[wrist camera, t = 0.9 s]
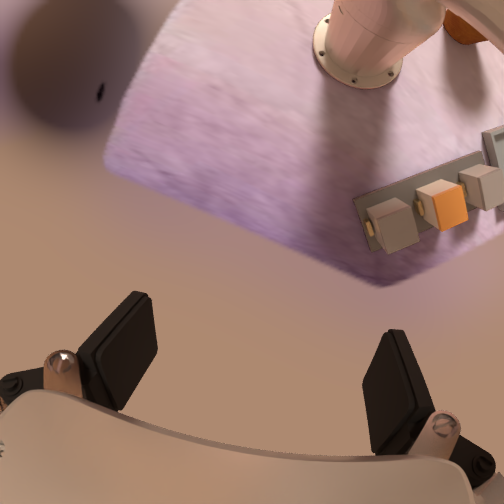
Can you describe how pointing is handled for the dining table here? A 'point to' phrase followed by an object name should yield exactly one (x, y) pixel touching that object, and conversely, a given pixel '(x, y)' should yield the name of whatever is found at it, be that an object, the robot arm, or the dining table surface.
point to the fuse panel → (414, 193)
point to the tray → (495, 149)
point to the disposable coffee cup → (461, 29)
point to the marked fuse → (443, 204)
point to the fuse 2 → (483, 186)
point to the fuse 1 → (393, 225)
